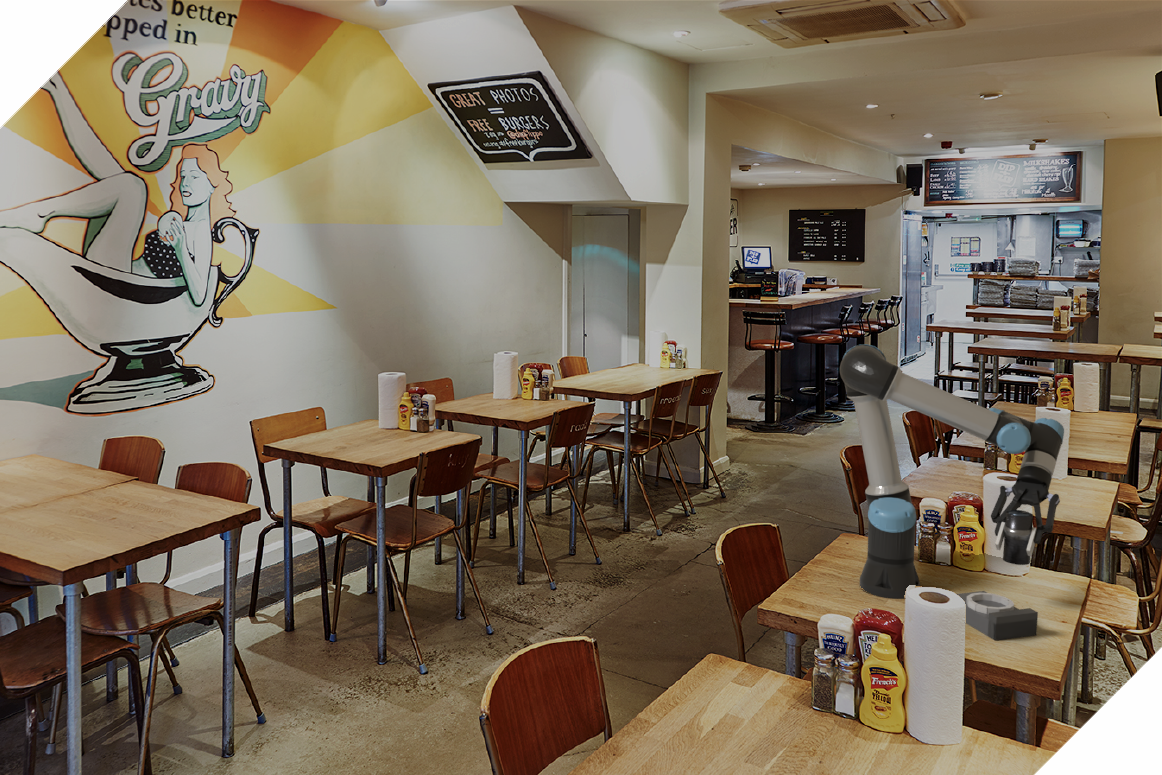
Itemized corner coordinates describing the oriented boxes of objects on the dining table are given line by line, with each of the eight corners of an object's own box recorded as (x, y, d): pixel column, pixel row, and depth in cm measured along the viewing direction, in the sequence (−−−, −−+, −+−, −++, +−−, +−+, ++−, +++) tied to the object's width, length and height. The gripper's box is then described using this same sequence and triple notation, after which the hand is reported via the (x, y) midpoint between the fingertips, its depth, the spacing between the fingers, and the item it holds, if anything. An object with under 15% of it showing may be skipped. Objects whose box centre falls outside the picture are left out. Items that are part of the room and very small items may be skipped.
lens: (996, 557, 213) (999, 510, 212) (1018, 555, 215) (1021, 508, 213) (1014, 566, 207) (1017, 517, 206) (1037, 563, 209) (1040, 515, 207)
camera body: (944, 610, 212) (945, 589, 211) (983, 606, 214) (984, 584, 213) (995, 640, 194) (996, 617, 194) (1036, 635, 197) (1037, 612, 196)
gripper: (1080, 487, 214) (1059, 566, 204) (998, 475, 226) (974, 549, 217) (1076, 470, 209) (1055, 550, 199) (992, 459, 222) (968, 534, 212)
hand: (1013, 550), depth 208 cm, fingers closed on lens, 6 cm apart
